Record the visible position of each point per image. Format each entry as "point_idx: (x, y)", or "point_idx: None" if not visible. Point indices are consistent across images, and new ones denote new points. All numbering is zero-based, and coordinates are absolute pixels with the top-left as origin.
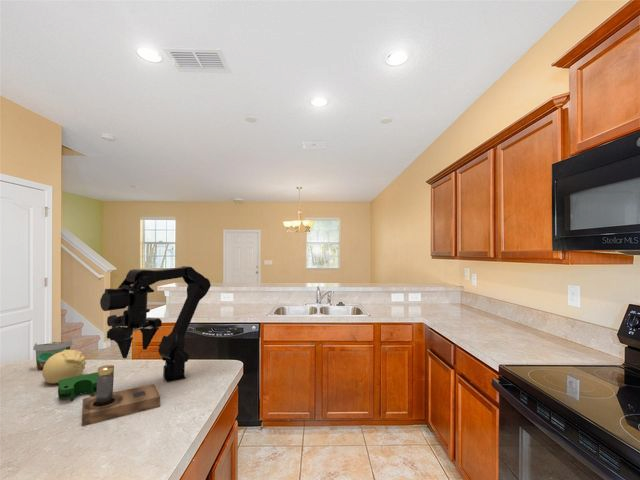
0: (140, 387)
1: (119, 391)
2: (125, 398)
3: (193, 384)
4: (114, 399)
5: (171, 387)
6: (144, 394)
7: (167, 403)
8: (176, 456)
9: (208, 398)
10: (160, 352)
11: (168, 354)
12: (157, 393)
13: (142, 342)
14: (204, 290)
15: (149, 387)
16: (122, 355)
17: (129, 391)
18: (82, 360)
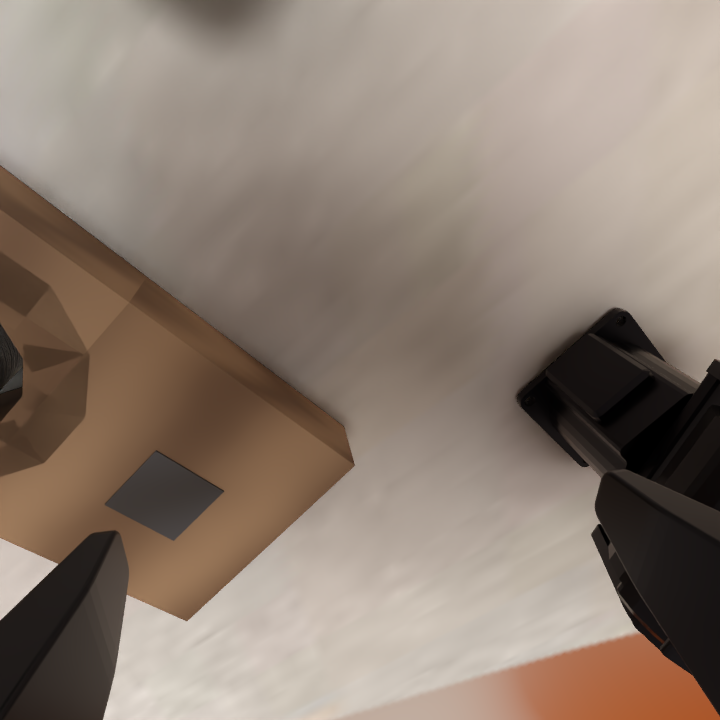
0: (269, 424)
1: (148, 324)
2: (64, 464)
3: (496, 546)
4: (25, 387)
5: (442, 468)
6: (172, 531)
7: (240, 577)
8: None
9: (344, 686)
10: (716, 461)
11: (626, 585)
12: (218, 583)
13: (709, 543)
14: None
15: (289, 479)
16: (55, 581)
17: (177, 401)
18: None
